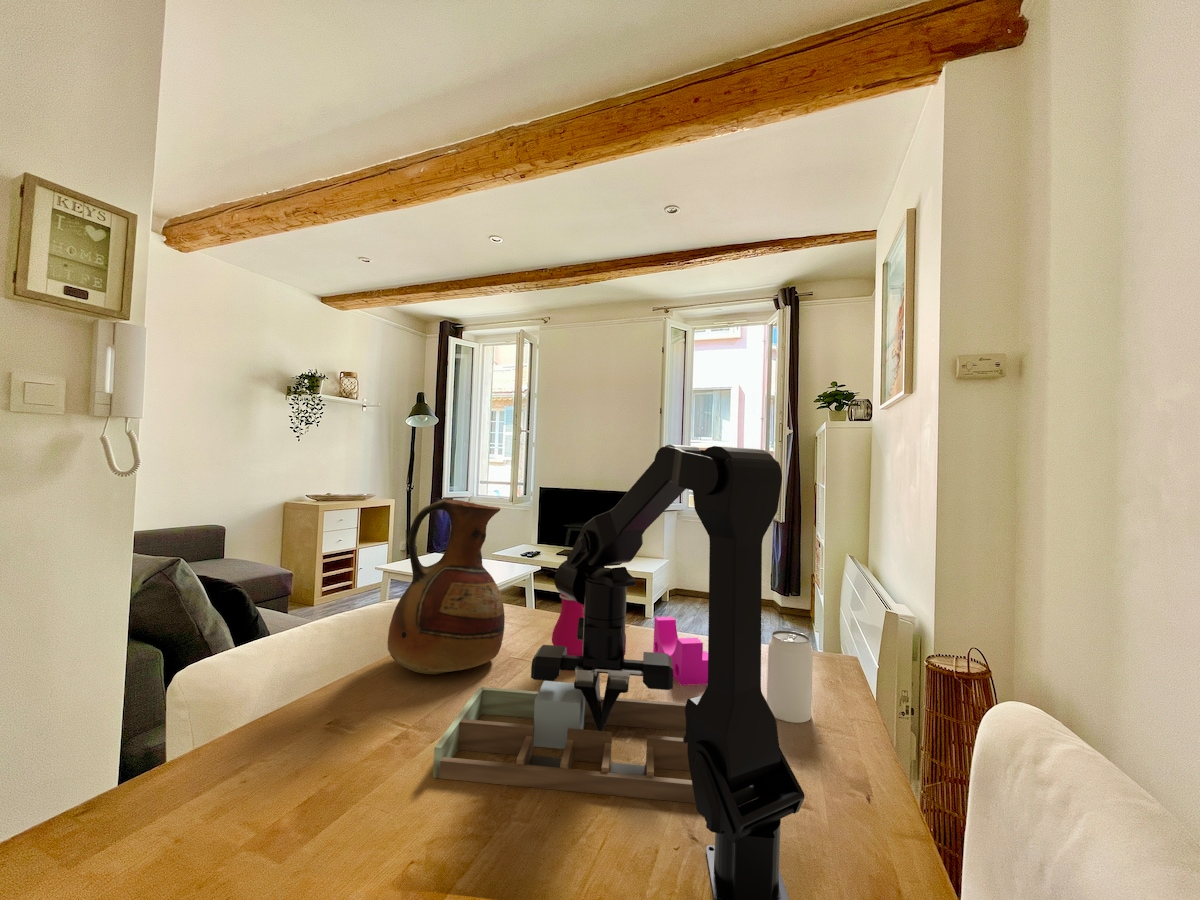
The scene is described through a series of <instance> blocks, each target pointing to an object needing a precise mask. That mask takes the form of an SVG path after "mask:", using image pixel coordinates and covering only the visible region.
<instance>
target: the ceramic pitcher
mask: <svg viewBox="0 0 1200 900" xmlns="http://www.w3.org/2000/svg"><path fill="white" fill-rule="evenodd" d="M435 511H436V512H437V511H444V512H446V513H447V515H448V516H449V519H450V533H449V539H448V542H447V543H448V544H447V546H446V549H445V551H444V553H443V555H442V557H441V558H440V559H439V560H438V561H436V562H435V563H433V564H431V565H428V566H424V565H423V564H422V563H421V562H420V559H419V557H418V551H417V546H416V545H417V541H416V539H417V536H418V532H419V529H420V526H421V524H422V522H423V520H425V518H426V517H427V516H428V514H431V513H433V512H435ZM500 511H501V507H499V506H492V505H491V506H488V505H483V504H477V503H474V502H469V501H465V500H461V499H460V500H459V499H451V498H450V499H449V498H443V499H441V500H438V501H437V502H436V501H435V502H433V503H431V504H429V505H427V506H424V507H423V508H422V509H421V510H419V511H418V512H417V515H416V516H415V518H414V520H413V522H412V524H411V526H410V528H409V533H408V538H407V547H408V548H407V549H408V553H409V559H410V560H409V561H410V566H411V571H412V579H411V582H410V584H409V586H408V587H407V588H406V590H405V591H404V592H403V594H402V596H400V598H399V600H398V602H397V604H396V606H395V608H394V610H393V611H394V612H393V614H392V616H391V621H390V624H389V627H388V636H387V651H388V653H389V654H390V657H391V659H393V660H394V661H395V662H397V663H398V664H399V665H400V666H402V667H403V668H406V669H408V670H409V671H412V672H416V673H418V674H423V675H425V674H426V675H440V674H444V673H448V672H449V673H452V672H455V671H457V672H458V671H462V670H468V669H471V668H475V667H479V666H481V665H484V664H486V663H489V662H490V661H491V660H494V659H495V658H496V657H497V656H498V654H499V652H500V650H501V647H502V644H503V639H504V635H505V634H504V633H505V620H506V619H505V608H504V607H505V606H504V601H503V596H502V593H501V591H500V589H499V587H498V584H497V583H496V581H495V580H494V578H493V576H492V575H491V574H490V573H489V572H488V570H487V569H486V568H485V567H484V565H483V554H482V548H483V545H484V543H485V541H486V537H487V527H488V523H489V522H490V520H491V519H492V518H493V517H494V516H495V515H496V514H498V513H499V512H500Z"/></svg>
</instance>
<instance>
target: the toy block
mask: <svg viewBox="0 0 1200 900" xmlns="http://www.w3.org/2000/svg"><path fill="white" fill-rule="evenodd" d="M653 620H654V623H653V625H654V626H653V627H654V628H653V629H654V630H653V644H652V645H653V649H652V652H653V653H667V654H668V655H669V656H670V657H671V658H672V666H673V679H675V680H676V681H677V683H678V684H679V685H680V686H681V687H682V686H694V685H707V683H708V651H707V650H705V651H704V642H702V641H701V640H700V639H699V638H698V637H678V631H677V619H675V618H674V617H673V616H657V617H654V619H653Z"/></svg>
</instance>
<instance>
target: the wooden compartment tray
mask: <svg viewBox="0 0 1200 900" xmlns="http://www.w3.org/2000/svg"><path fill="white" fill-rule="evenodd" d="M538 692H539V691H537V690H536V691H534V690H523V689H511V688H497V687H485V686H484V687H483V686H479V687H478V688H477V689H476V690H475V692H474V693H473V695H472V696H471V697H470V698H469V699H468V701H467V703H466V704H465V705H464V706H463V708H462V710H461V711H460V712H459V713H458V715H457V716H456V718H455V719H454V720H453V721H452V723H451V724H450V725H449V727H448V728H447V729H446V731H445V732H444V734H443V735H442V737H440V739H439V740H438V741H437V743H436V744H435V745H434V748H433V766H432V767H433V768H432V769H433V770H432V778H433V779H442V780H443V779H444V780H455V781H464V782H465V781H466V782H474V783H485V784H493V785H494V784H496V785H504V786H505V785H506V786H512V787H513V786H514V787H515V786H516V787H526V788H535V789H546V790H555V791H556V790H557V791H566V792H567V791H568V792H577V793H585V794H586V793H588V794H596V795H597V794H598V795H608V796H618V797H629V798H637V799H638V798H640V799H649V800H656V801H657V800H659V801H666V802H667V801H670V802H679V803H688V804H690V803H691V804H696V802H695V797H694V791H693V785H692V779H683V778H673V777H661V776H655V769H664V770H674V771H675V770H676V771H685V772H690V768H689V762H688V753H687V748H688V742H687V743H684V741H683V739H684V737H675V736H672V737H671V736H663V735H653V734H652V735H649V734H646V747H645V748H646V750H645V751H646V753H645V754H646V755H645V765H641V764H630V763H629V764H628V763H620V762H619V763H618V762H612V746H613V745H612V744H613V731H606V730H603V731H598V730H593V729H572V728H568V731H567V742H566V745H565V749H563V752H562V753H563V754H562V757H553V756H544V755H543V756H542V755H534V747H535V746H534V724H525V723H524V724H523V723H512V722H503V721H502V722H501V721H491V720H479V719H480V717H481V715H491V716H503V717H504V716H505V717H514V718H515V717H517V718H529V719H534V707H535V698H536V696H537V694H538ZM600 697H601V710H602V707H603V701H604V696H600ZM685 706H686V703H683V702H670V701H659V700H658V701H657V700H645V699H633V698H623V697H621V698H620V697H618V698H617V699H616V701H615V703H614V705H613V707H612V709H611V711H610V714H609V716H608V719H607V722H606V724H605V725H606V726H608V725H609V726H610V725H611V726H620V727H621V726H622V727H632V728H643V729H644V728H646V729H656V730H668V731H669V730H670V731H679V732H686V716H685ZM584 724H595V721H594V718H593V716H592V713H591V710H590V707H589V705H588V703H587V701H586V699H585V712H584ZM458 751H469V752H480V753H488V754H489V753H491V754H502V755H511V756H512V755H513V756H517V757H516V760H515V761H516V762H515V763H513V762H512V763H510V762H502V761H501V762H500V761H492V760H491V761H490V760H479V759H468V758H458V757H455V755H456V754H457V752H458ZM573 761H575V762H576V761H577V762H588V763H601V771H597V770H588V769H587V770H585V769H577V768H576V769H575V768H572V763H573Z"/></svg>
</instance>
